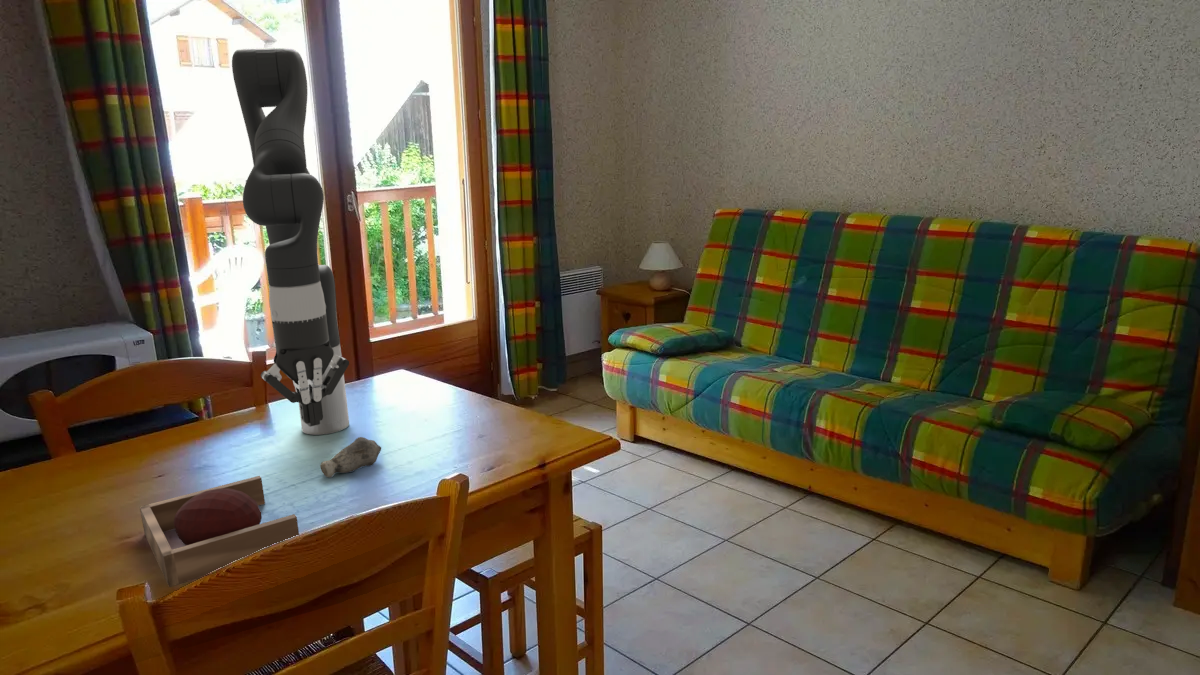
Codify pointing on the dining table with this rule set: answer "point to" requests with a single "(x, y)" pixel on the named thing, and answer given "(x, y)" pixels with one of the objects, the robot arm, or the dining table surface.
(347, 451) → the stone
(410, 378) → the dining table surface
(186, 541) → the potato
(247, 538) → the corral
